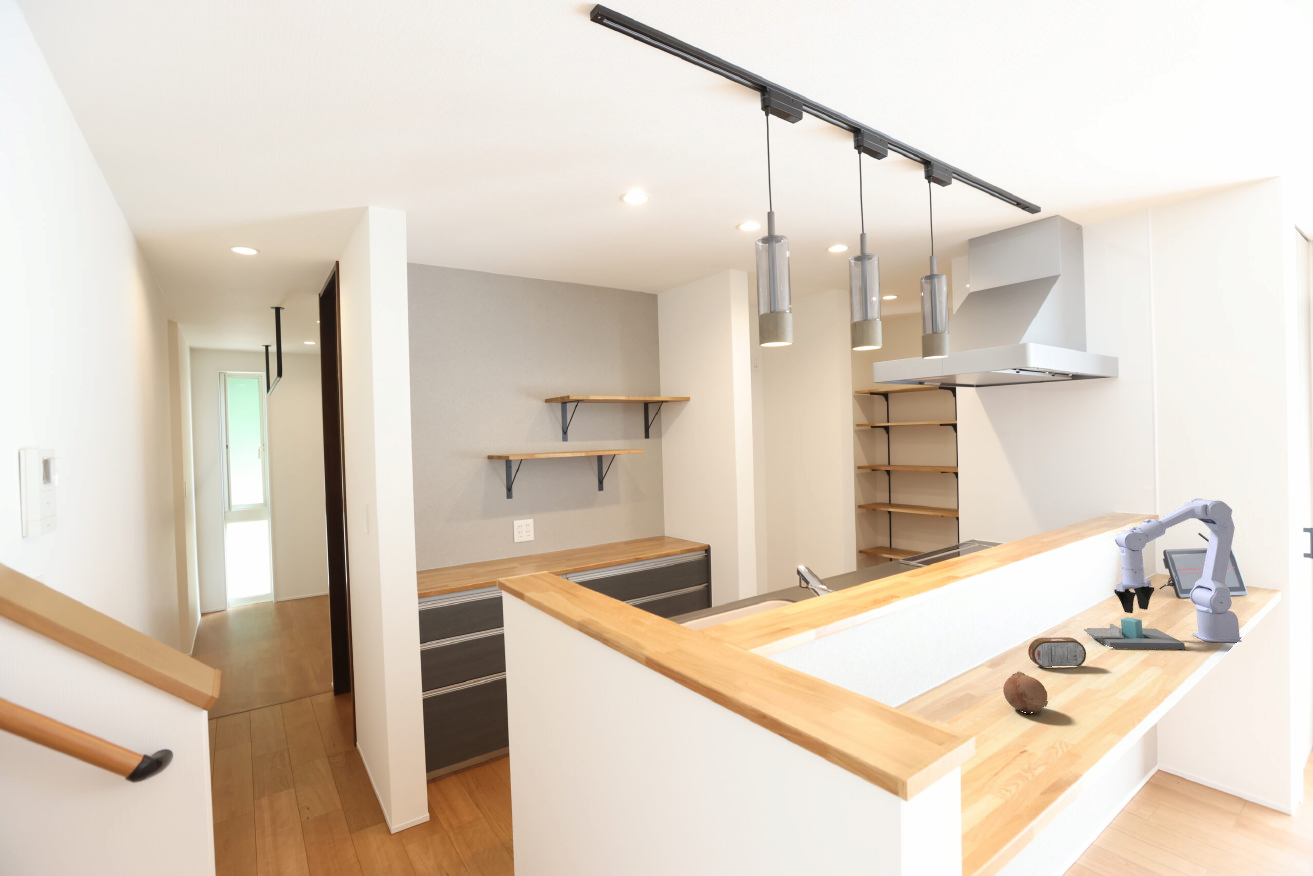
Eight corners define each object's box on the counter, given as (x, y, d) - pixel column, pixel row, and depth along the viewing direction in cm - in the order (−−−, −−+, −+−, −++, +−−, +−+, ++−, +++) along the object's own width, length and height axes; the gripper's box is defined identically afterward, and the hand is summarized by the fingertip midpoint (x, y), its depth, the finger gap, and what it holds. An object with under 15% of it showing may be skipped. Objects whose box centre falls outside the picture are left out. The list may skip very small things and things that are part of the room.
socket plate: (1155, 634, 207) (1155, 628, 207) (1184, 649, 191) (1184, 643, 192) (1087, 634, 211) (1087, 628, 212) (1110, 648, 196) (1110, 642, 196)
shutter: (1111, 630, 206) (1110, 623, 207) (1123, 637, 199) (1123, 629, 199) (1084, 630, 208) (1083, 622, 208) (1095, 637, 200) (1094, 629, 200)
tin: (1082, 665, 184) (1080, 636, 184) (1089, 668, 181) (1086, 639, 181) (1028, 666, 185) (1026, 637, 186) (1033, 669, 182) (1031, 640, 182)
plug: (1129, 639, 204) (1127, 617, 205) (1143, 641, 201) (1141, 619, 201) (1122, 641, 203) (1120, 619, 203) (1136, 644, 199) (1135, 621, 199)
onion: (1016, 717, 159) (1005, 675, 163) (1057, 714, 153) (1045, 671, 158) (1003, 715, 153) (992, 671, 157) (1046, 712, 147) (1033, 667, 152)
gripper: (1131, 573, 197) (1135, 616, 197) (1160, 567, 203) (1163, 610, 202) (1108, 570, 204) (1111, 612, 203) (1136, 564, 209) (1139, 605, 209)
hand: (1136, 610), depth 203 cm, fingers open, 7 cm apart
